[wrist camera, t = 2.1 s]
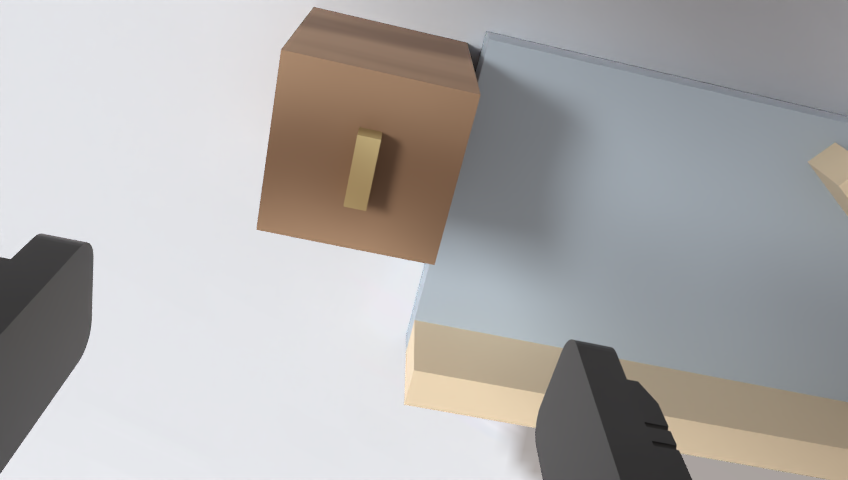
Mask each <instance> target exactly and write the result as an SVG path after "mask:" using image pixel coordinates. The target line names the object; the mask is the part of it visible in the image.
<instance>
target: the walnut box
mask: <svg viewBox="0 0 848 480" xmlns="http://www.w3.org/2000/svg"><path fill="white" fill-rule="evenodd" d="M480 96H481V94H480V90H479V86H478V82H477V78H476V75H475V71H474V67H473V63H472V59H471V55H470V51H469V48H468V44H467V43H466V42H461V41H457V40H453V39H449V38H444V37H440V36H436V35H432V34H427V33H423V32H419V31H414V30H410V29H406V28H402V27H397V26H393V25H389V24H384V23H380V22H376V21H372V20H367V19H363V18H359V17H354V16H350V15H346V14H342V13H337V12H333V11H329V10H325V9H320V8H316V7H313V9H312V10H311V11H310V13H309V14H308V15H307V17H306V18H305V19H304V20H303V22H302V23H301V24H300V26H299V27H298V28H297V30H296V31H295V32H294V34H293V35H292V36H291V37H290V39H289V40H288V41H287V43H286V44H285V45H284V47H283V48H282V49H281V55H280V62H279V69H278V77H277V84H276V91H275V99H274V106H273V113H272V120H271V128H270V135H269V142H268V150H267V157H266V164H265V171H264V179H263V186H262V193H261V201H260V208H259V215H258V222H257V230H261V231H266V232H271V233H276V234H281V235H286V236H291V237H296V238H301V239H306V240H311V241H316V242H321V243H326V244H331V245H336V246H341V247H346V248H351V249H356V250H361V251H366V252H371V253H377V254H382V255H387V256H392V257H397V258H402V259H407V260H412V261H417V262H422V263H427V264H432V265H435V262H436V258H437V254H438V250H439V247H440V243H441V239H442V236H443V232H444V228H445V225H446V221H447V217H448V214H449V210H450V206H451V203H452V199H453V195H454V191H455V188H456V184H457V180H458V177H459V173H460V169H461V166H462V162H463V158H464V155H465V151H466V147H467V143H468V140H469V136H470V132H471V129H472V125H473V121H474V118H475V114H476V110H477V107H478V103H479V99H480Z"/></svg>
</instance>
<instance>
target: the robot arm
mask: <svg viewBox="0 0 848 480" xmlns="http://www.w3.org/2000/svg"><path fill="white" fill-rule="evenodd" d="M92 287H93V249H92V246H91V245H90V244H89V243H87V242H82V241H77V240H72V239H66V238H61V237H56V236H51V235H46V234H38V235H36V236H35V237H34V238H33V239H32V240H31V241H30V242H29V243H27V244H26V245H25V246H24V247H23V248H22V249H21V250H20V251H19V252H18V253H17V254H16V255H15V256H14V257H13V258H12V259H6V258H1V257H0V473H1V472H2V470H3V469H4V468H5V466H6V465H7V463H8V462H9V460H10V459H11V458H12V456H13V455H14V453H15V452H16V450H17V449H18V448H19V446H20V445H21V443H22V442H23V440H24V439H25V438H26V436H27V435H28V433H29V432H30V430H31V429H32V428H33V426H34V425H35V423H36V422H37V420H38V419H39V418H40V416H41V415H42V413H43V412H44V410H45V409H46V408H47V406H48V405H49V403H50V402H51V400H52V399H53V398H54V396H55V395H56V393H57V392H58V390H59V389H60V388H61V386H62V385H63V383H64V382H65V380H66V379H67V378H68V376H69V375H70V373H71V372H72V370H73V369H74V368H75V366H76V365H77V363H78V362H79V360H80V359H81V357H82V355H83V353H84V350H85V348H86V345H87V342H88V339H89V335H90V330H91V321H92ZM668 427H669V426H668V424H667V422H666V420H665V417H664V415H663V413H662V411H661V408H660V406H659V404H658V403H657V402H656V400H655V399H654V398H653V397H652V396H651V395H650V394H649V393H648V392H647V391H646V389H645V388H644V387H643V386H642V385H641V384H640V383H639V382H638V381H633V380H628V379H627V378H626V375H625V373H624V370H623V368H622V366H621V363H620V361H619V358H618V356H617V353H616V351H615V350H614V348H612V347H608V346H603V345H598V344H593V343H588V342H583V341H578V340H573V339H570V340H569V341H567V343H566V344H565V345H564V347H563V349H562V352H561V354H560V357H559V359H558V362H557V365H556V367H555V370H554V372H553V375H552V377H551V380H550V382H549V385H548V387H547V390H546V393H545V395H544V398H543V400H542V403H541V405H540V408H539V412H538V416H537V421H536V431H535V436H536V437H535V438H536V447H537V452H538V457H539V462H540V467H541V472H542V477H543V480H692V478H691V476H690V474H689V472H688V469H687V467H686V465H685V463H684V460H683V458H682V456H681V454H680V451H679V450H676V447H677V444H676V442H675V440H674V438H673V435H672V433H671V431H668Z"/></svg>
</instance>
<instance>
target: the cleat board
mask: <svg viewBox="0 0 848 480" xmlns="http://www.w3.org/2000/svg"><path fill="white" fill-rule="evenodd" d="M475 75H476V78H477V82H478V86H479V90H480V94H481V96H480V99H479V103H478V107H477V110H476V114H475V118H474V121H473V125H472V129H471V132H470V136H469V140H468V143H467V147H466V151H465V155H464V158H463V162H462V166H461V169H460V173H459V177H458V180H457V184H456V188H455V191H454V195H453V199H452V203H451V206H450V210H449V214H448V217H447V221H446V225H445V228H444V232H443V236H442V239H441V243H440V247H439V250H438V254H437V258H436V262H435V265H432V264H427V263H425V266H424V270H423V273H422V277H421V281H420V285H419V289H418V292H417V296H416V300H415V304H414V308H413V311H412V315H411V319H410V323H409V327H408V330H407V335H406V367H405V399H404V405H409V406H415V407H421V408H426V409H432V410H438V411H443V412H449V413H455V414H460V415H466V416H472V417H477V418H483V419H489V420H494V421H500V422H506V423H511V424H517V425H523V426H528V427H534V428H536V421H537V416H538V412H539V408H540V405H541V403H542V400H543V398H544V395H545V393H546V390H547V387H548V385H549V382H550V380H551V377H552V375H553V372H554V370H555V367H556V365H557V362H558V359H559V357H560V354H561V352H562V349H563V347H564V345H565V344H566V343H567V341H569V340H570V339H573V340H578V341H583V342H588V343H593V344H598V345H603V346H608V347H612V348H614V350H615V351H616V353H617V356H618V358H619V361H620V363H621V366H622V368H623V370H624V373H625V375H626V378H627V379H628V380H633V381H638V382H639V383H640V384H641V385H642V386H643V387H644V388H645V389H646V391H647V392H648V393H649V394H650V395H651V396H652V397H653V398H654V399H655V400H656V402H657V403H658V404H659V406H660V408H661V411H662V413H663V415H664V417H665V420H666V422H667V424H668V426H669V427H668V431H671V433H672V435H673V438H674V440H675V442H676V444H677V447H676V450H679V451H680V453H681V454H687V455H693V456H698V457H704V458H710V459H715V460H721V461H726V462H732V463H738V464H743V465H749V466H755V467H761V468H766V469H771V470H778V471H783V472H789V473H795V474H800V475H806V476H811V477H817V478H822V479H828V480H848V116H843V115H839V114H835V113H831V112H827V111H822V110H818V109H814V108H810V107H805V106H801V105H797V104H793V103H788V102H784V101H780V100H776V99H771V98H767V97H763V96H759V95H754V94H750V93H746V92H742V91H737V90H733V89H729V88H725V87H721V86H716V85H712V84H708V83H704V82H699V81H695V80H691V79H687V78H682V77H678V76H674V75H670V74H665V73H661V72H657V71H653V70H648V69H644V68H640V67H636V66H632V65H627V64H623V63H619V62H615V61H610V60H606V59H602V58H598V57H593V56H589V55H585V54H581V53H576V52H572V51H568V50H564V49H559V48H555V47H551V46H547V45H542V44H538V43H534V42H530V41H526V40H521V39H517V38H513V37H509V36H504V35H500V34H496V33H492V32H487V31H486V35H485V38H484V42H483V46H482V50H481V54H480V57H479V61H478V65H477V69H476V73H475Z"/></svg>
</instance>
